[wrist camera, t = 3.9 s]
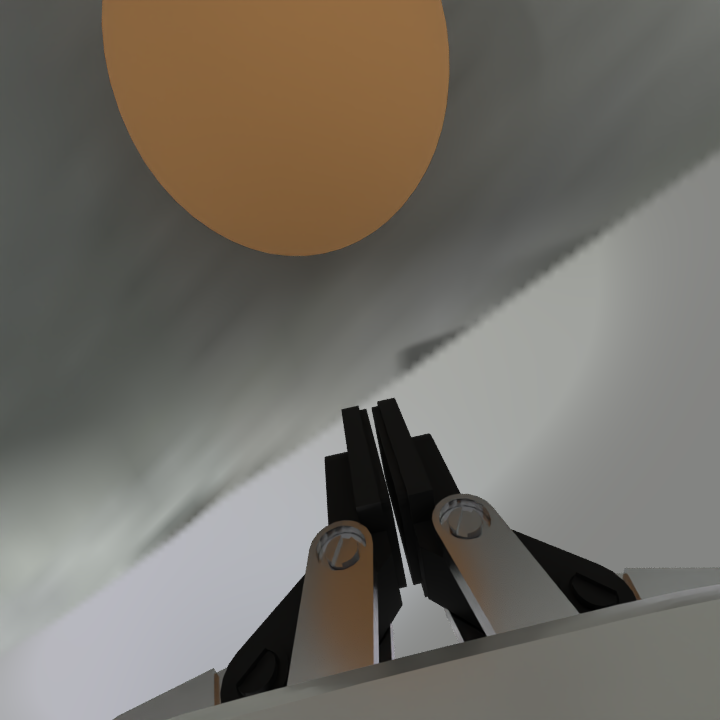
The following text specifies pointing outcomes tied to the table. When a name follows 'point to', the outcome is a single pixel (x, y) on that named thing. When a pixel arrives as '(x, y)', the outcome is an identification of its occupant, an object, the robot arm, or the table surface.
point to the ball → (282, 110)
